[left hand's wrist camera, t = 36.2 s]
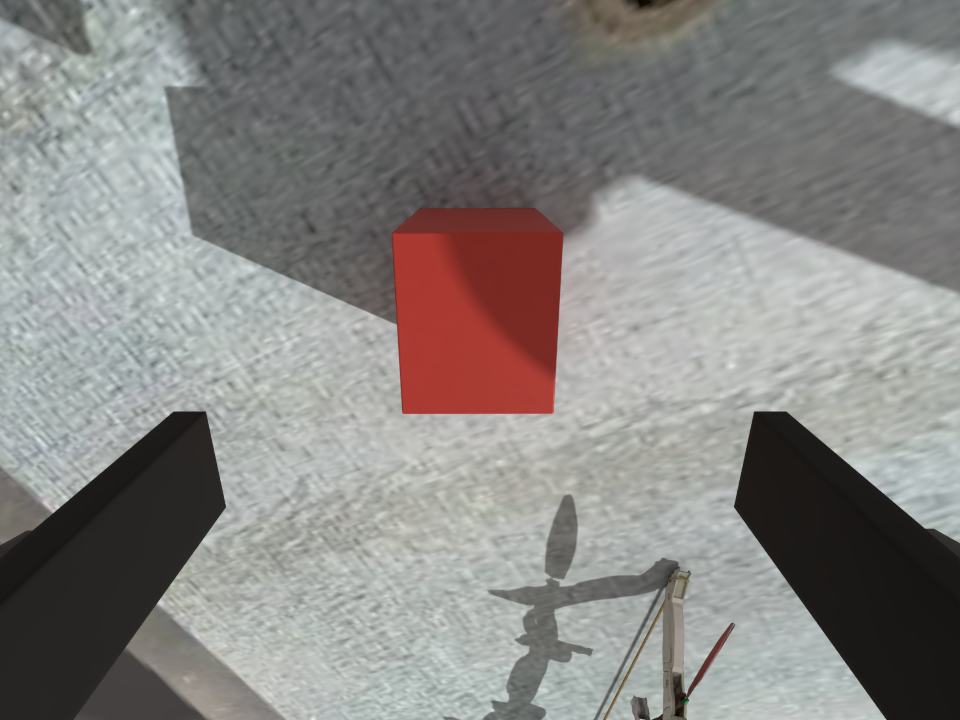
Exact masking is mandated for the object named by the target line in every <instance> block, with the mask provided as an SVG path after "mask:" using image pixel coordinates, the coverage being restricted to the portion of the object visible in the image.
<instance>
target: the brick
mask: <svg viewBox="0 0 960 720" xmlns="http://www.w3.org/2000/svg"><path fill="white" fill-rule="evenodd" d="M392 246H393V263H394V280H395V297H396V314H397V331H398V348H399V365H400V382H401V399H402V413H403V414H552V413H553V412H554V394H555V376H556V358H557V340H558V321H559V303H560V285H561V267H562V248H563V232H561V231H560V230H559V229H558V228H557V227H556V226H555V225H553V224H552V223H551V222H550V221H549V220H548V219H547V218H545V217H544V216H543V215H542V214H541V213H540V212H539V211H537V210H536V209H535V208H421V209H419V210H418V211H417V212H416V213H415V214H414V215H412V216H411V217H410V218H409V219H408V220H407V221H405V222H404V223H403V224H402V225H401V226H400V227H398V228H397V229H396V230H395V231H394V232H393V233H392Z"/></svg>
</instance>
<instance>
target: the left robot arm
mask: <svg viewBox="0 0 960 720" xmlns="http://www.w3.org/2000/svg"><path fill="white" fill-rule="evenodd" d="M225 508H226V505H225V500H224V495H223V490H222V486H221V481H220V476H219V472H218V467H217V462H216V457H215V453H214V448H213V443H212V438H211V434H210V429H209V424H208V420H207V415H206V412H173V413H171V414H170V415H169V416H168V417H167V418H166V419H164V420H163V421H162V422H161V423H160V424H158V425H157V426H156V427H155V428H154V429H153V430H151V431H150V432H149V433H148V434H147V435H145V436H144V437H143V438H142V439H141V440H140V441H138V442H137V443H136V444H135V445H134V446H132V447H131V448H130V449H129V450H128V451H126V452H125V453H124V454H123V455H122V456H121V457H119V458H118V459H117V460H116V461H115V462H113V463H112V464H111V465H110V466H109V467H108V468H106V469H105V470H104V471H103V472H102V473H100V474H99V475H98V476H97V477H96V478H94V479H93V480H92V481H91V482H90V483H89V484H87V485H86V486H85V487H84V488H83V489H81V490H80V491H79V492H78V493H77V494H76V495H74V496H73V497H72V498H71V499H70V500H68V501H67V502H66V503H65V504H64V505H62V506H61V507H60V508H59V509H58V510H57V511H55V512H54V513H53V514H52V515H51V516H49V517H48V518H47V519H46V520H45V521H44V522H42V523H41V524H40V525H39V526H38V527H36V528H35V529H34V530H33V531H25V532H24V533H22V534H20V535H18V536H16V537H15V538H13V539H11V540H9V541H7V542H6V543H4V544H2V545H0V720H74V718H75V717H76V715H77V714H78V713H79V711H80V710H81V708H82V707H83V706H84V704H85V703H86V702H87V700H88V699H89V697H90V696H91V695H92V693H93V692H94V690H95V689H96V688H97V686H98V685H99V683H100V682H101V681H102V679H103V678H104V676H105V675H106V674H107V672H108V671H109V669H110V668H111V667H112V665H113V664H114V663H115V661H116V660H117V658H118V657H119V656H120V654H121V653H122V651H123V650H124V649H125V647H126V646H127V644H128V643H129V642H130V640H131V639H132V637H133V636H134V635H135V633H136V632H137V630H138V629H139V628H140V626H141V625H142V624H143V622H144V621H145V619H146V618H147V617H148V615H149V614H150V612H151V611H152V610H153V608H154V607H155V605H156V604H157V603H158V601H159V600H160V598H161V597H162V596H163V594H164V593H165V591H166V590H167V589H168V587H169V586H170V584H171V583H172V582H173V580H174V579H175V578H176V576H177V575H178V573H179V572H180V571H181V569H182V568H183V566H184V565H185V564H186V562H187V561H188V559H189V558H190V557H191V555H192V554H193V552H194V551H195V550H196V548H197V547H198V545H199V544H200V543H201V541H202V540H203V538H204V537H205V536H206V534H207V533H208V532H209V530H210V529H211V527H212V526H213V525H214V523H215V522H216V520H217V519H218V518H219V516H220V515H221V513H222V512H223V511H224V509H225ZM734 508H735V509H736V511H737V512H738V513H739V515H740V516H741V518H742V519H743V520H744V522H745V523H746V525H747V526H748V527H749V529H750V530H751V532H752V533H753V534H754V536H755V537H756V538H757V540H758V541H759V543H760V544H761V545H762V547H763V548H764V550H765V551H766V552H767V554H768V555H769V557H770V558H771V559H772V561H773V562H774V564H775V565H776V566H777V568H778V569H779V571H780V572H781V573H782V575H783V576H784V578H785V579H786V580H787V582H788V583H789V584H790V586H791V587H792V589H793V590H794V591H795V593H796V594H797V596H798V597H799V598H800V600H801V601H802V603H803V604H804V605H805V607H806V608H807V610H808V611H809V612H810V614H811V615H812V617H813V618H814V619H815V621H816V622H817V624H818V625H819V626H820V628H821V629H822V630H823V632H824V633H825V635H826V636H827V637H828V639H829V640H830V642H831V643H832V644H833V646H834V647H835V649H836V650H837V651H838V653H839V654H840V656H841V657H842V658H843V660H844V661H845V663H846V664H847V665H848V667H849V668H850V670H851V671H852V672H853V674H854V675H855V676H856V678H857V679H858V681H859V682H860V683H861V685H862V686H863V688H864V689H865V690H866V692H867V693H868V695H869V696H870V697H871V699H872V700H873V702H874V703H875V704H876V706H877V707H878V709H879V710H880V711H881V713H882V714H883V716H884V717H885V718H886V720H960V543H959V542H957V541H955V540H953V539H951V538H949V537H948V536H946V535H944V534H942V533H940V532H939V531H937V530H935V529H925V528H924V527H922V526H921V525H920V524H919V523H918V522H916V521H915V520H914V519H913V518H912V517H911V516H909V515H908V514H907V513H906V512H905V511H903V510H902V509H901V508H900V507H899V506H898V505H896V504H895V503H894V502H893V501H892V500H890V499H889V498H888V497H887V496H886V495H884V494H883V493H882V492H881V491H880V490H879V489H877V488H876V487H875V486H874V485H873V484H871V483H870V482H869V481H868V480H867V479H866V478H864V477H863V476H862V475H861V474H860V473H858V472H857V471H856V470H855V469H854V468H852V467H851V466H850V465H849V464H848V463H847V462H845V461H844V460H843V459H842V458H841V457H839V456H838V455H837V454H836V453H835V452H834V451H832V450H831V449H830V448H829V447H828V446H826V445H825V444H824V443H823V442H822V441H820V440H819V439H818V438H817V437H816V436H815V435H813V434H812V433H811V432H810V431H809V430H807V429H806V428H805V427H804V426H803V425H802V424H800V423H799V422H798V421H797V420H796V419H794V418H793V417H792V416H791V415H790V414H789V413H787V412H754V415H753V420H752V424H751V429H750V434H749V438H748V443H747V448H746V453H745V457H744V462H743V467H742V472H741V476H740V481H739V486H738V490H737V495H736V500H735V505H734Z"/></svg>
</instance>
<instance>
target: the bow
mask: <svg viewBox="0 0 960 720" xmlns="http://www.w3.org/2000/svg"><path fill="white" fill-rule="evenodd" d="M690 575H691V573H690V571H688V572H683V571H680V569H679V568H678V569H677V570H676V569H675V571H674V573H672V575H671V577H670V578H668V579H669V581H668V584H667V587H666V592H665V600H664V602H663V604H662V606H661V608H660V610H659V612H658V614H657V616H656V618H655V620H654V622H653V624H652V626H651V628H650V630H649V632H648V633H647V635H646V637H645V639H644V641H643V643H642V645H641V647H640V649H639V651H638V653H637V655H636V657H635V659H634V661H633V663H632V665H631V667H630V669H629V671H628V672H627V674H626V676H625V678H624V680H623V682H622V684H621V686H620V688H619V690H618V692H617V694H616V696H615V698H614V700H613V702H612V704H611V706H610V708H609V709H608V711H607V713H606V715H605V717H604V719H603V720H606V719H607V717H608V715H609V713H610V711H611V709H612V707H613V705H614V703H615V701H616V699H617V697H618V695H619V693H620V692H621V690H622V688H623V686H624V684H625V682H626V680H627V678H628V676H629V674H630V672H631V670H632V668H633V666H634V664H635V662H636V660H637V659H638V657H639V655H640V653H641V651H642V649H643V647H644V645H645V643H646V641H647V639H648V637H649V635H650V633H651V631H652V629H653V628H654V626H655V624H656V622H657V620H658V618H659V616H660V614H661V612H662V610H663V608H664V611H663V671H664V673H663V689H664V691H663V714H662V715H661V716H659V717H658V718H655V719H652V720H687V719H686V713H687V703H688V702H689V699H688V697H689V695H690V694H691V692H692V691H693V689H694V688H695V687H696V686H697V685H698V683H699V682H700V681H701V680H702V678H703V677H704V675H705V674H706V672H707V670H708V669H709V667H710V666H711V664H712V662H713V661H714V659H715V658H716V656H717V654H718V653H719V651H720V650H721V648H722V646H723V645H724V643H725V641H726V640H727V638H728V636H729V635H730V633H731V631H732V630H733V628H734V626H735V624H734V623H731V624H730V625H729V627H728V628H727V629H726V631H725V632H724V633H723V635H722V636H721V637H720V639H719V640H718V642H717V643H716V645H715V646H714V648H713V649H712V651H711V652H710V654H709V655H708V657H707V659H706V660H705V662H704V663H703V665H702V667H701V669H700V670H699V672H698V674H697V675H696V677H695V679H694V681H693V682H692V684H691V686H690V688H689V690H688V693H687V696H686V693H685V689H684V671H683V664H684V619H683V601H684V597H685V593H686V590H687V586H688V583H690V581H689V577H690ZM733 624H734V626H733ZM732 626H733V627H732ZM731 628H732V629H731ZM730 629H731V631H730ZM729 631H730V632H729ZM728 633H729V634H728ZM727 635H728V636H727ZM630 703H631V705H632V712H633V714H634V717H635V720H640V719H645V720H650V717H649V708H648V706H647V699H646V698H645V699H644V698H639V697H635V695H634V697H633V699H632V700H631V702H630ZM639 718H640V719H639Z"/></svg>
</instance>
